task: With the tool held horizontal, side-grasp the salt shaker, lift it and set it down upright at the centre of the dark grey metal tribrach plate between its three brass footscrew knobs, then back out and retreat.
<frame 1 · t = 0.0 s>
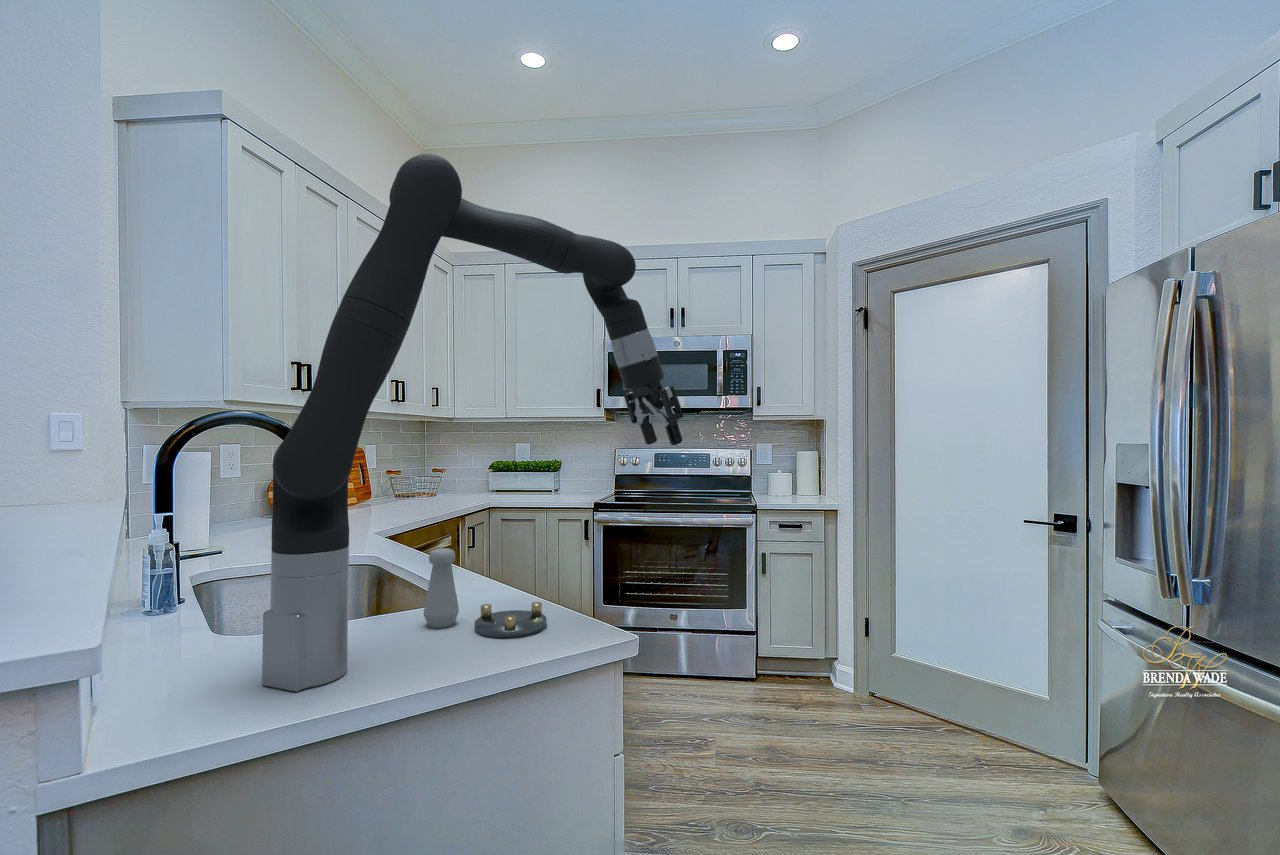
hand: (664, 443, 111), 31 cm above the worktop, tool tilted 20°, fingers open, 8 cm apart
salt shaker: (441, 626, 104), on the worktop
tribrach: (511, 627, 103), on the worktop
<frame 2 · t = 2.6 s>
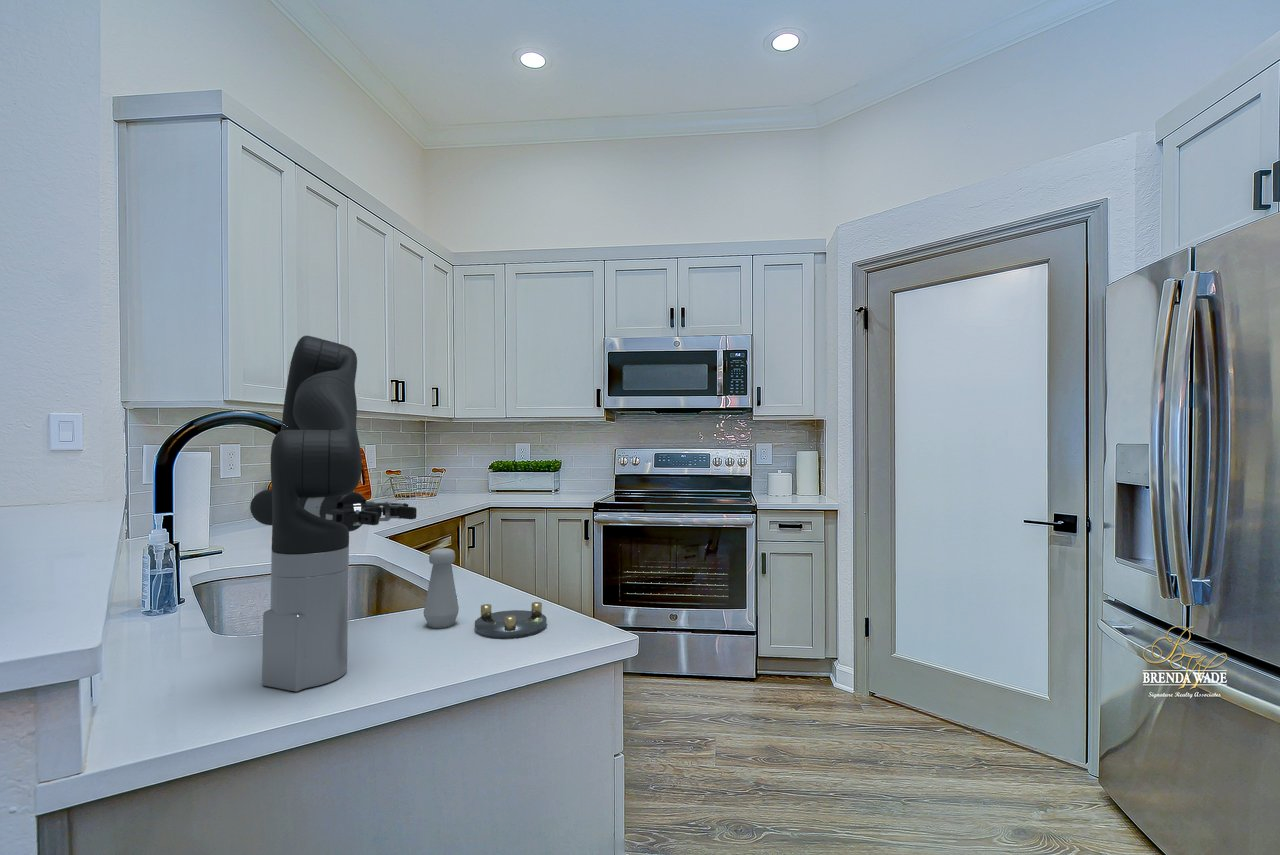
hand: (397, 516, 109), 18 cm above the worktop, tool horizontal, fingers open, 8 cm apart
nothing on the worktop moved.
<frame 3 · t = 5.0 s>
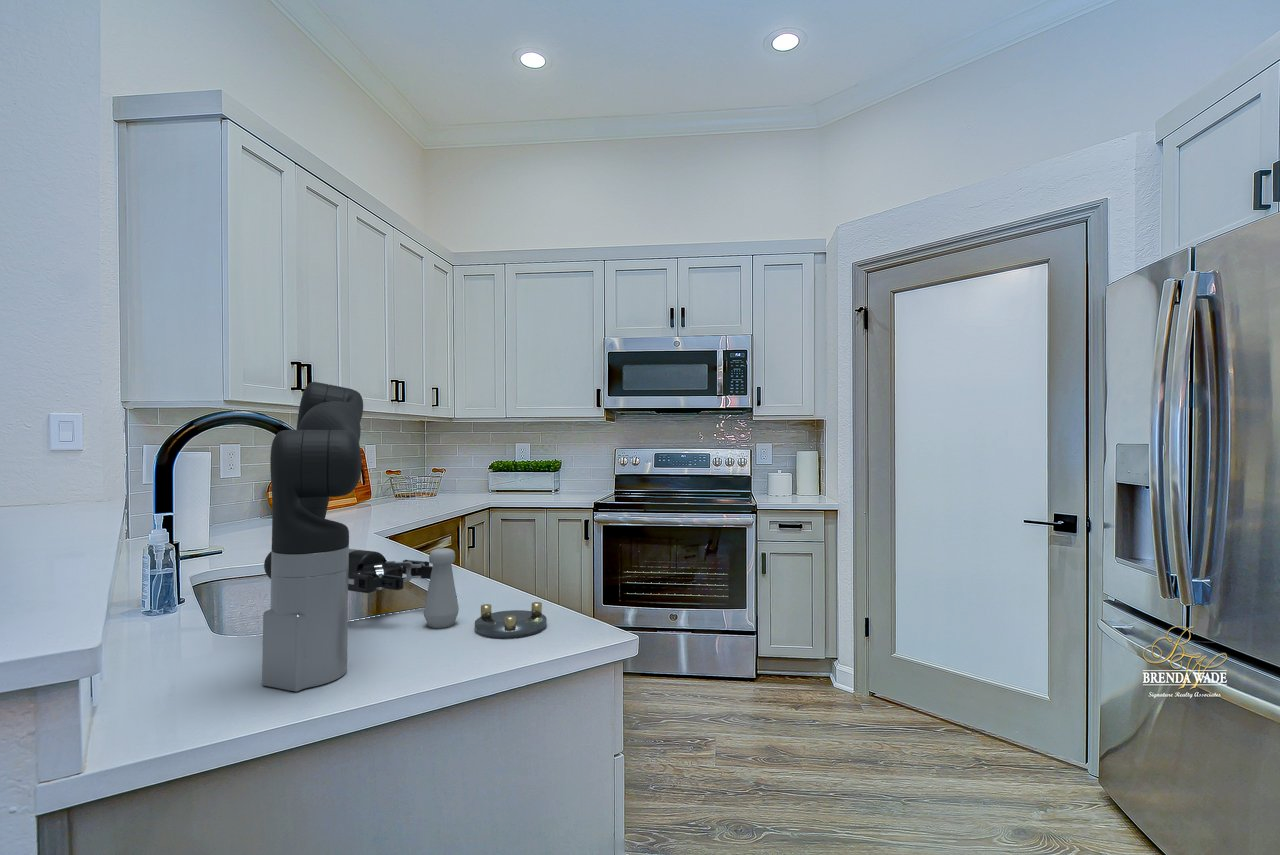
hand: (420, 578, 106), 8 cm above the worktop, tool horizontal, fingers open, 8 cm apart
nothing on the worktop moved.
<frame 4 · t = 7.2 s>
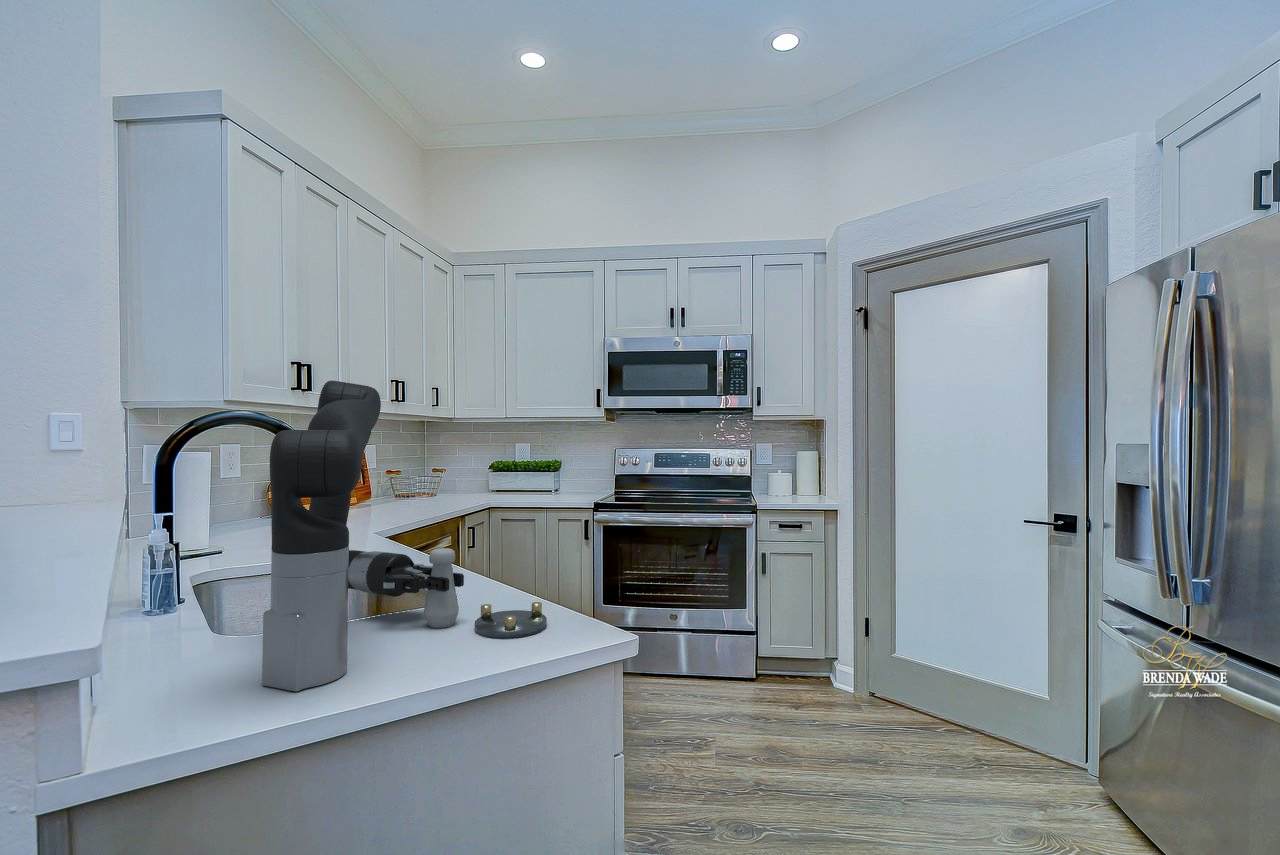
hand: (455, 582, 103), 8 cm above the worktop, tool horizontal, fingers closed on salt shaker, 3 cm apart
salt shaker: (441, 625, 104), on the worktop, touching gripper
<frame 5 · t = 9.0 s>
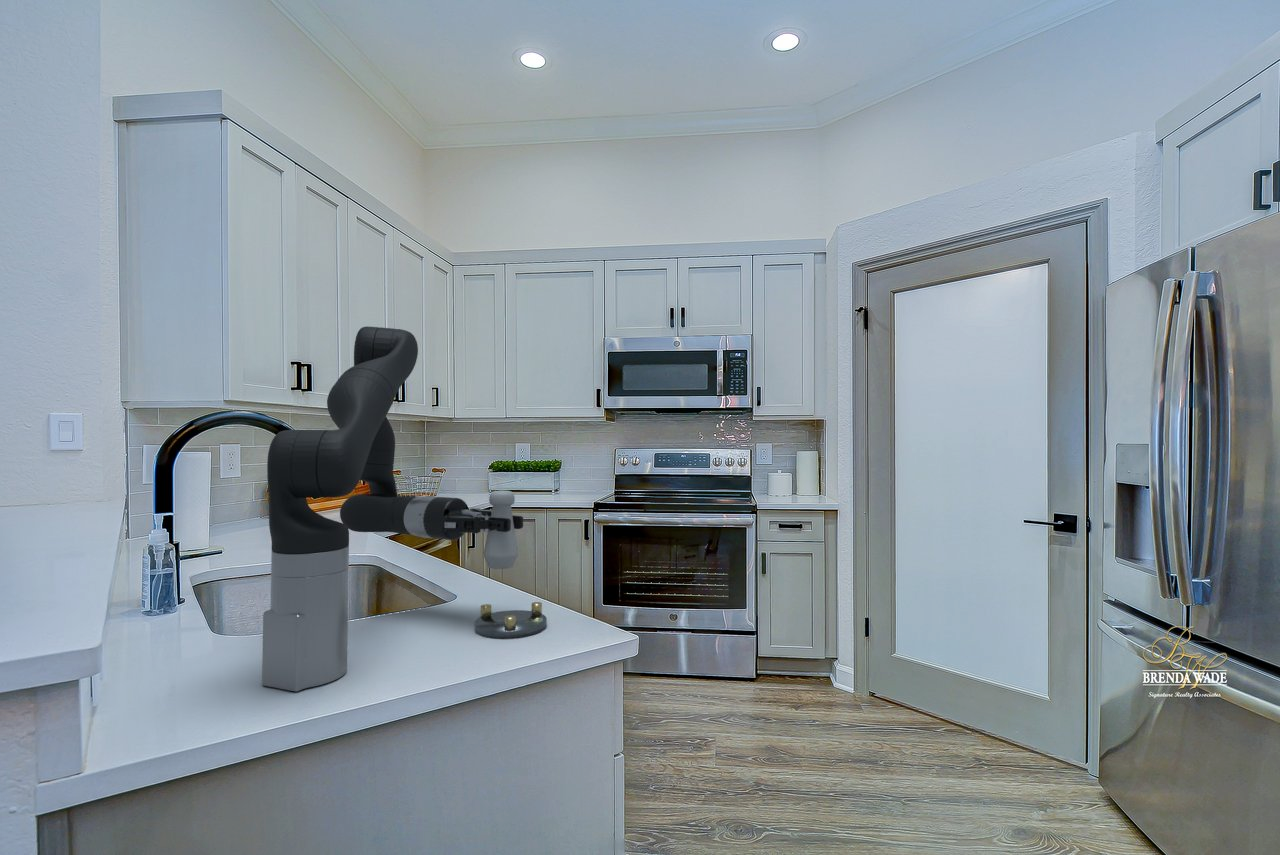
hand: (515, 523, 103), 18 cm above the worktop, tool horizontal, fingers closed on salt shaker, 3 cm apart
salt shaker: (500, 567, 104), point 10 cm above the worktop, touching gripper
when the fingers open (10 cm above the worktop, at t = 11.3 s): salt shaker stays where it is, resting on tribrach.
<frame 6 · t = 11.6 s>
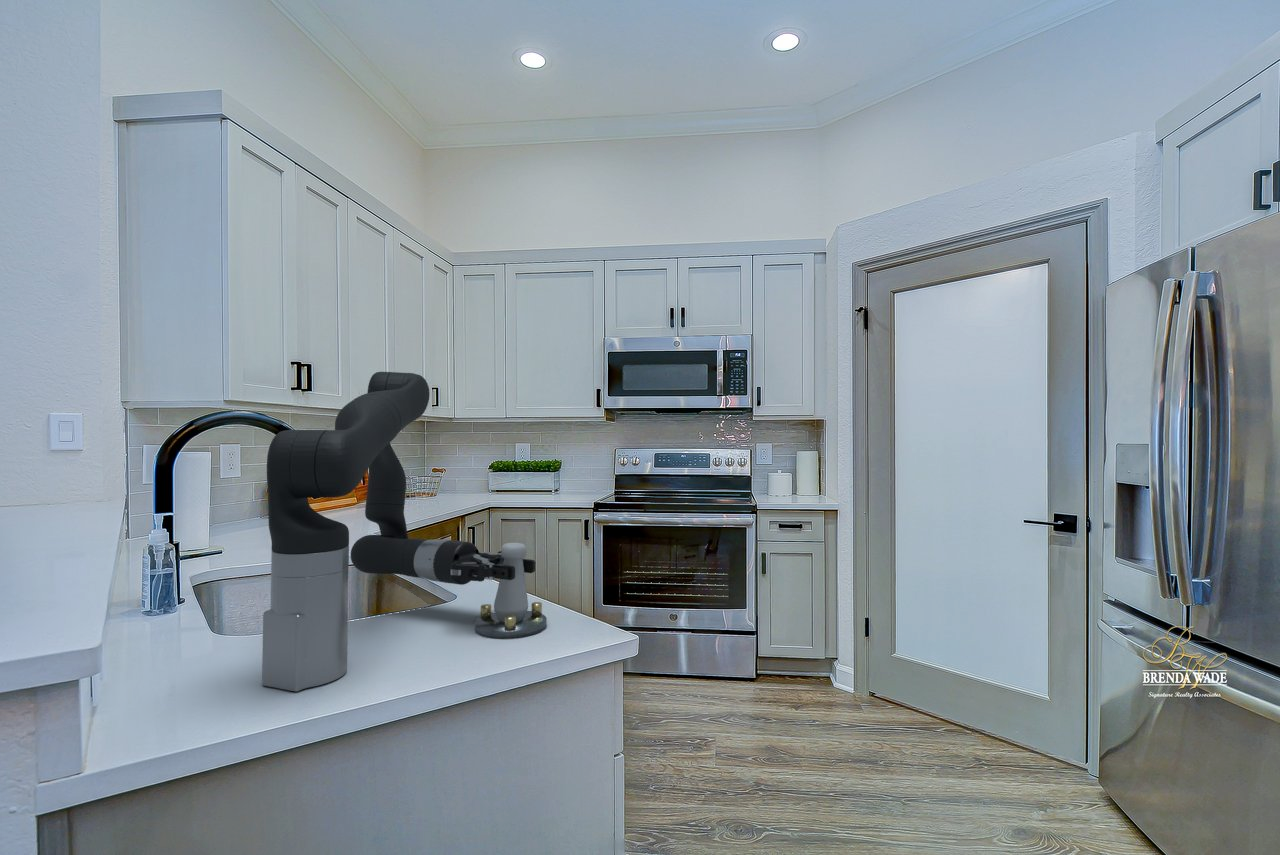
hand: (524, 569, 102), 10 cm above the worktop, tool horizontal, fingers open, 5 cm apart
salt shaker: (510, 620, 103), point 1 cm above the worktop, touching tribrach
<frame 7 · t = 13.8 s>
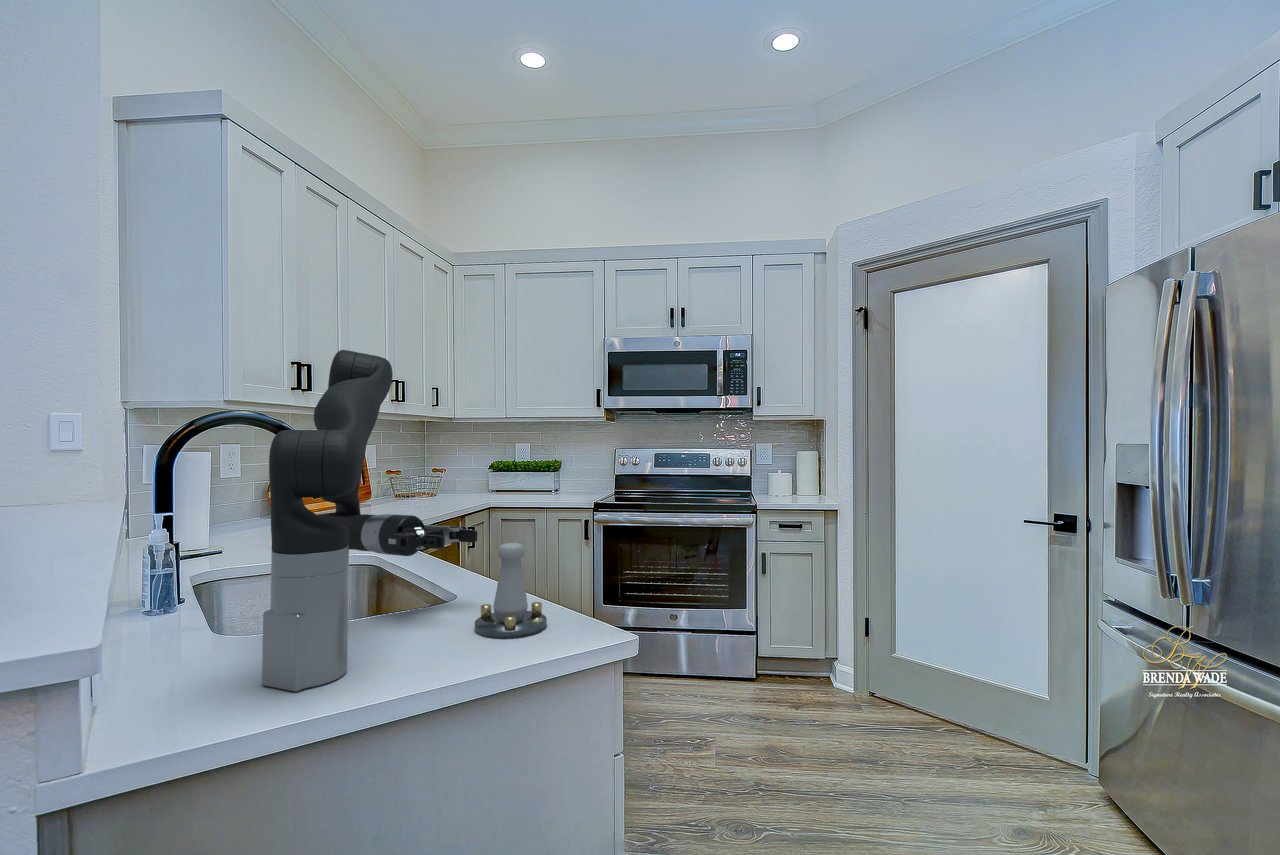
hand: (460, 539, 107), 14 cm above the worktop, tool horizontal, fingers open, 8 cm apart
nothing on the worktop moved.
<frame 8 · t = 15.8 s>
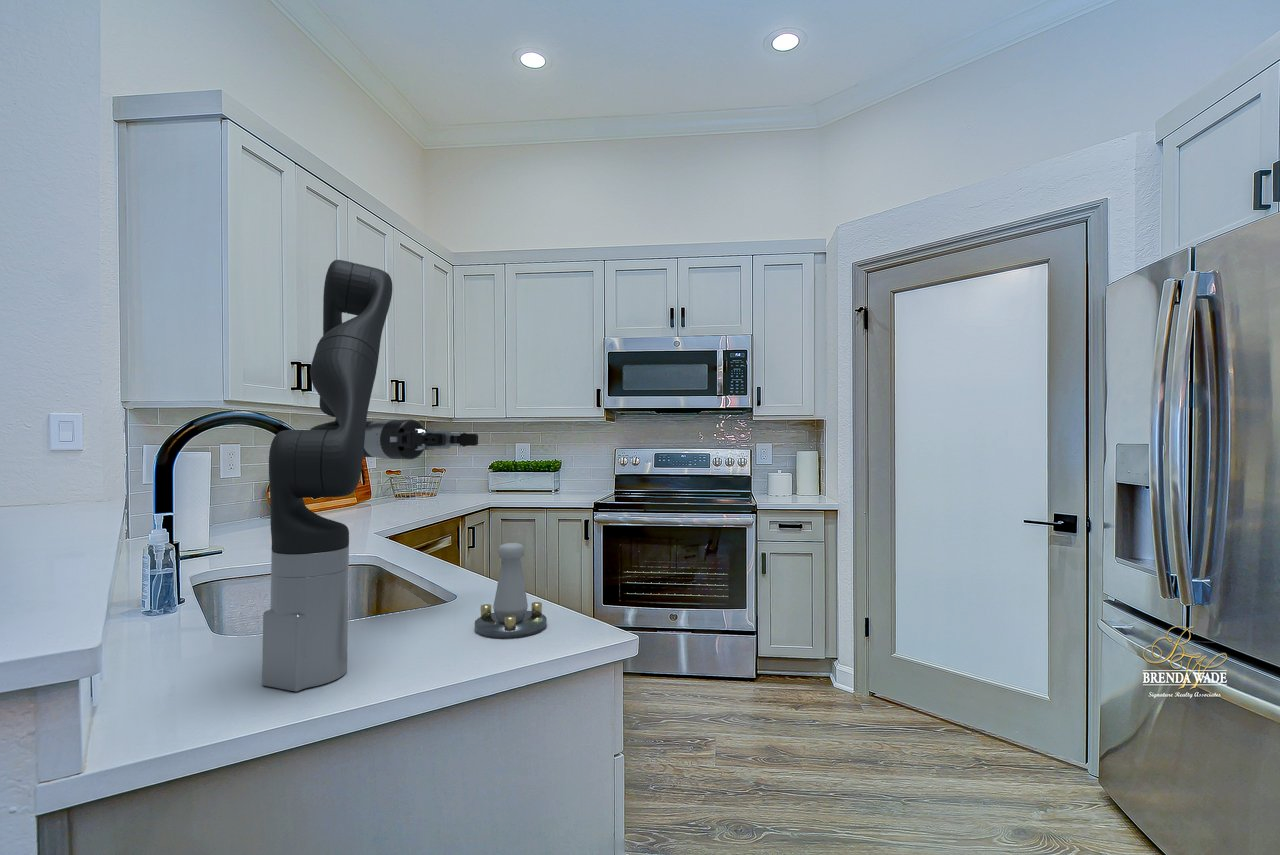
hand: (461, 439, 108), 32 cm above the worktop, tool horizontal, fingers open, 8 cm apart
nothing on the worktop moved.
at the end: salt shaker 0.1 cm from the tribrach (horizontally); salt shaker tilted 0°; the gripper is holding nothing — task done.
